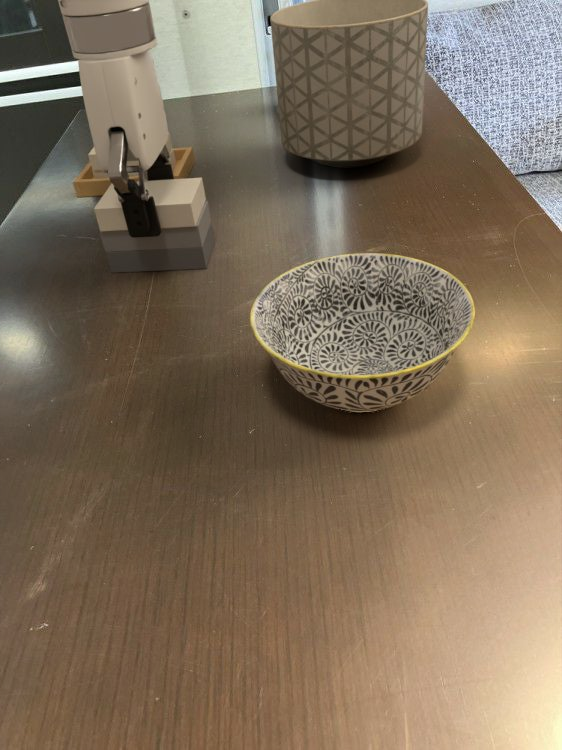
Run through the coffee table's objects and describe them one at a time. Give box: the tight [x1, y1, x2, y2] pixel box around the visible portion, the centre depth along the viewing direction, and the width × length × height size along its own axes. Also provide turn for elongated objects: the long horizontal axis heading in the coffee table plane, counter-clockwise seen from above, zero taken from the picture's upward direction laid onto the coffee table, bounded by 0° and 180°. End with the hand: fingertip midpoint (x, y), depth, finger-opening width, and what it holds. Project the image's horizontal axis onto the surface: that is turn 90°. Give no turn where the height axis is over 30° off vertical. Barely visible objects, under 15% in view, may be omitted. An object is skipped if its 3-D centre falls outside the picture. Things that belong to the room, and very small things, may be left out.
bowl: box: [249, 252, 476, 411], centre depth 47 cm, size 16×16×8 cm
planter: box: [269, 0, 429, 169], centre depth 81 cm, size 19×19×18 cm
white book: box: [93, 177, 207, 231], centre depth 65 cm, size 10×6×2 cm, turn 86°
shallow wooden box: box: [72, 146, 196, 198], centre depth 87 cm, size 15×11×2 cm
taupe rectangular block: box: [87, 131, 176, 179], centre depth 86 cm, size 10×7×4 cm
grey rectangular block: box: [98, 200, 216, 274], centre depth 67 cm, size 10×6×5 cm, turn 86°
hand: (155, 216), depth 66 cm, fingers open, 7 cm apart
